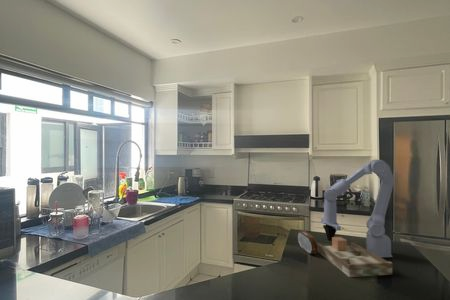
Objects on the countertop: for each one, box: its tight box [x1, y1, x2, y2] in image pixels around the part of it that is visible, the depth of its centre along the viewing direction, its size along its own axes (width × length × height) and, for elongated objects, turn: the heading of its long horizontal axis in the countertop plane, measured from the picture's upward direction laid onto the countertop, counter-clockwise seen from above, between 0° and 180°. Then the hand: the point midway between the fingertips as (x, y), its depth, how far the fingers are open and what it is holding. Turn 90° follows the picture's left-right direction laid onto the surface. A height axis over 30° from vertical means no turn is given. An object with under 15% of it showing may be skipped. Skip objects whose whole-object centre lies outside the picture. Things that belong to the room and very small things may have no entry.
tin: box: [297, 230, 318, 255], centre depth 117 cm, size 15×3×8 cm, turn 9°
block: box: [331, 236, 348, 250], centre depth 113 cm, size 4×4×4 cm
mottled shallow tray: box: [316, 241, 393, 278], centre depth 105 cm, size 18×24×4 cm
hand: (330, 240), depth 120 cm, fingers closed
